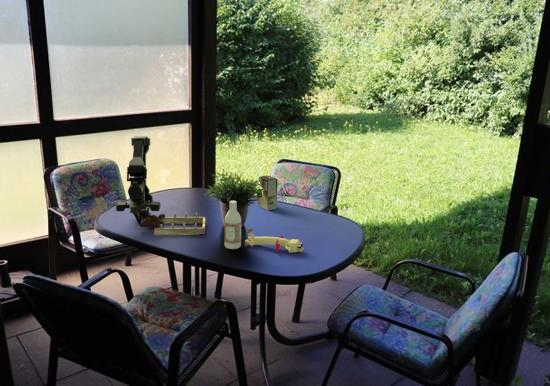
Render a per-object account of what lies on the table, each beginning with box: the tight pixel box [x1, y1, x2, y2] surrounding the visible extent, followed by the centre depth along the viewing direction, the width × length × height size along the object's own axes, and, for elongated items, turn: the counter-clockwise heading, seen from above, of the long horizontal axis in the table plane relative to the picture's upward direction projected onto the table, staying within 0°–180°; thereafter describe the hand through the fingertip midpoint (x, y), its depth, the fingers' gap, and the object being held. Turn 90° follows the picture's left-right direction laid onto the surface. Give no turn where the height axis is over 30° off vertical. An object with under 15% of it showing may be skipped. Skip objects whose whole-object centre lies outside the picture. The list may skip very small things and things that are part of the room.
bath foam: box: [224, 200, 242, 250], centre depth 204 cm, size 7×7×20 cm
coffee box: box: [257, 175, 278, 211], centre depth 255 cm, size 9×6×16 cm
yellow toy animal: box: [244, 227, 305, 254], centre depth 206 cm, size 10×9×25 cm
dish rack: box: [153, 212, 206, 236], centre depth 224 cm, size 15×22×5 cm
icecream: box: [138, 213, 166, 231], centre depth 222 cm, size 7×7×15 cm
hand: (139, 224), depth 221 cm, fingers closed
